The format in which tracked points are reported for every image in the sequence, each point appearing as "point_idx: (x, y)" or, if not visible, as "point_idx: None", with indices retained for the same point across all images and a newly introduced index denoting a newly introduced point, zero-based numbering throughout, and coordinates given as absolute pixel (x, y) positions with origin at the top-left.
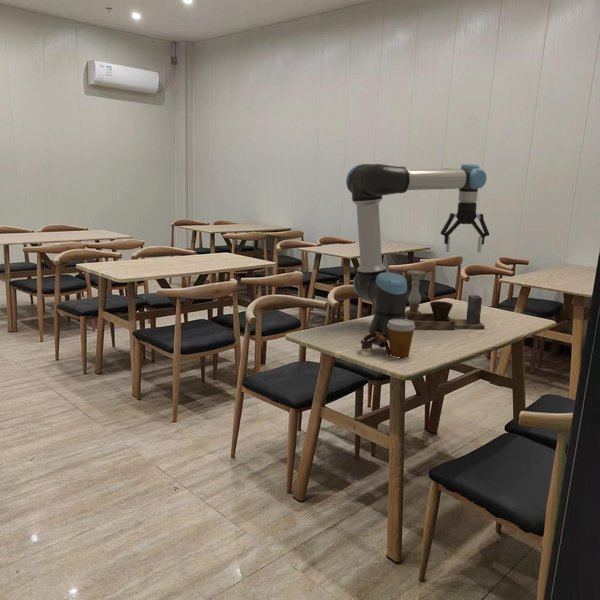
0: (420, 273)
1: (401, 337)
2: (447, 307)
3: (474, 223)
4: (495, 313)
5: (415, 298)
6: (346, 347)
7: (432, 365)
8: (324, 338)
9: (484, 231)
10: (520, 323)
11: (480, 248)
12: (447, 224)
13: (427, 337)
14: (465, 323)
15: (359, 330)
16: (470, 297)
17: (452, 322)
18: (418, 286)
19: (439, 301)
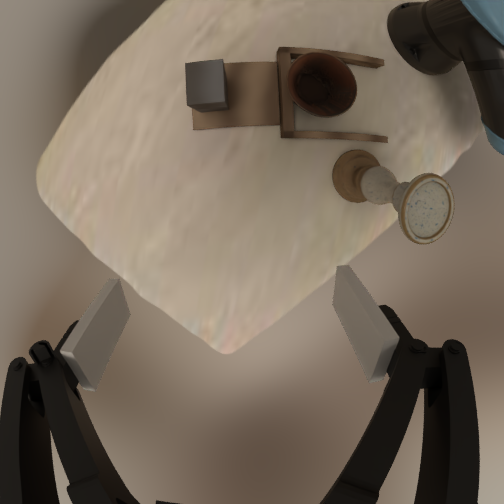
0: (425, 175)
1: None
2: (308, 54)
3: (88, 492)
4: (128, 239)
5: (383, 168)
6: None
7: None
8: None
9: (41, 411)
10: (89, 149)
11: (102, 294)
12: (473, 432)
13: (349, 7)
14: (238, 82)
15: (462, 76)
16: (223, 78)
17: (285, 47)
18: (392, 189)
19: (323, 115)
